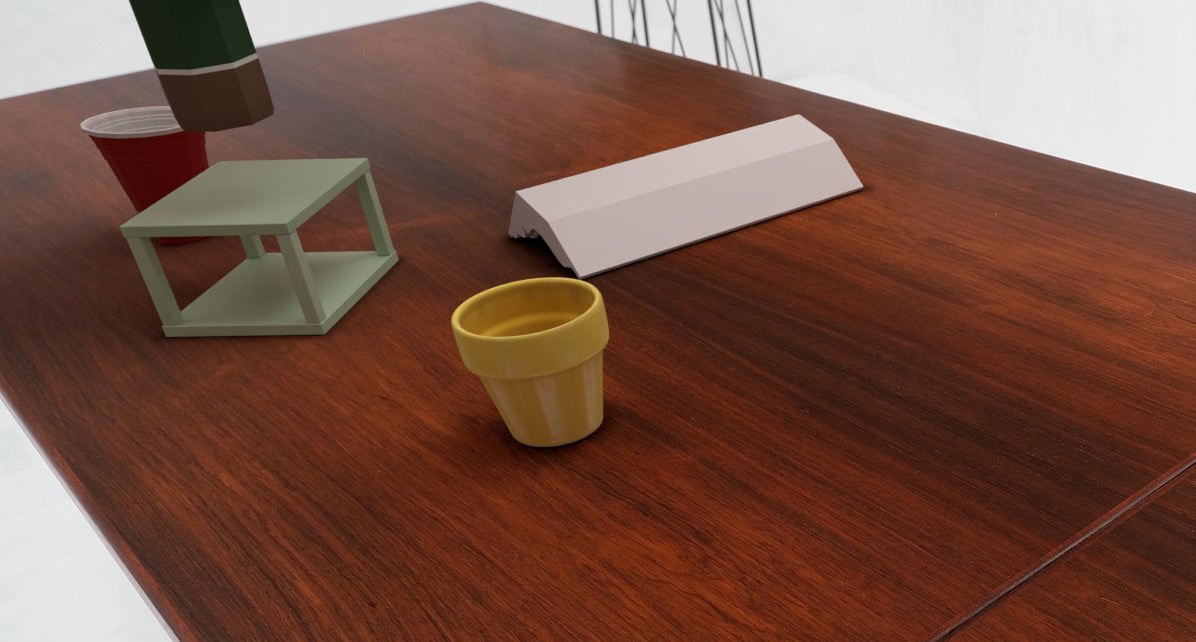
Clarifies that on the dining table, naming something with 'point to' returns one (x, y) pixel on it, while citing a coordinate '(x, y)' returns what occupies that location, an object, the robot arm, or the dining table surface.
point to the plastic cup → (149, 154)
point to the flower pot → (538, 355)
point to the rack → (264, 280)
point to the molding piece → (683, 195)
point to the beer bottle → (205, 62)
